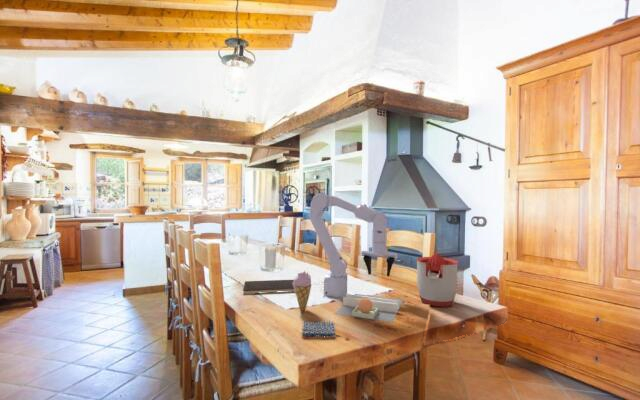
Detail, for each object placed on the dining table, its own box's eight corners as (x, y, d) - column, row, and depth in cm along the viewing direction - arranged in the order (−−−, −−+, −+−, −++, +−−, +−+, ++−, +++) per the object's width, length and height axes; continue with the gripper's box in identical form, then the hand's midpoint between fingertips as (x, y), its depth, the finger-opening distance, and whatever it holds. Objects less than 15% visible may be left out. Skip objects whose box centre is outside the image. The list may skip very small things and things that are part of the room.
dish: (351, 315, 110) (351, 311, 110) (357, 309, 117) (357, 305, 117) (373, 319, 107) (373, 314, 107) (378, 312, 114) (378, 308, 114)
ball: (356, 314, 111) (356, 299, 111) (360, 309, 115) (360, 295, 115) (370, 316, 109) (370, 301, 109) (374, 311, 113) (374, 297, 113)
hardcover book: (297, 293, 141) (297, 288, 141) (243, 295, 137) (243, 290, 137) (293, 284, 157) (293, 279, 157) (244, 285, 153) (244, 280, 153)
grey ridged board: (334, 316, 112) (334, 304, 112) (355, 296, 136) (355, 286, 136) (392, 325, 104) (392, 313, 104) (403, 302, 129) (403, 292, 129)
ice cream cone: (296, 316, 111) (296, 273, 111) (289, 311, 117) (290, 269, 117) (313, 313, 115) (314, 271, 115) (306, 308, 120) (306, 268, 120)
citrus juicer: (411, 306, 124) (411, 254, 124) (420, 294, 139) (420, 248, 139) (455, 313, 116) (455, 257, 116) (459, 300, 132) (459, 251, 132)
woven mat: (334, 326, 105) (334, 320, 105) (336, 340, 94) (336, 333, 94) (302, 326, 104) (302, 320, 104) (300, 340, 94) (300, 333, 94)
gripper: (359, 241, 131) (359, 275, 131) (395, 244, 126) (395, 278, 126) (363, 239, 138) (363, 271, 138) (398, 241, 132) (398, 275, 132)
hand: (378, 274), depth 132 cm, fingers open, 7 cm apart
